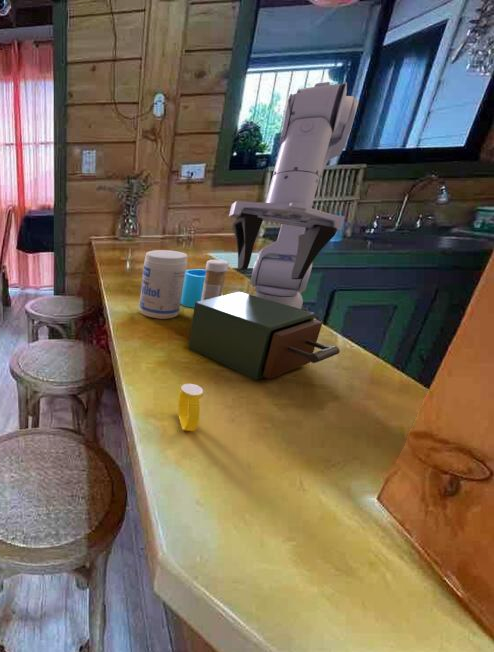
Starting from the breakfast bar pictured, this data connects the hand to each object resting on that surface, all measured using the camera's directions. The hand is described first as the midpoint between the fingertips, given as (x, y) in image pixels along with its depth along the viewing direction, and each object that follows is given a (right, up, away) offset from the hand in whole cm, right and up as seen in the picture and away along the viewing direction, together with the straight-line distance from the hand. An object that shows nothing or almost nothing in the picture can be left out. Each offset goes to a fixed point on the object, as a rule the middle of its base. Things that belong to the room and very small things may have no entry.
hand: (269, 274), depth 55 cm
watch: (-13, -22, -2) cm, 26 cm away
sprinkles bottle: (+7, -4, +35) cm, 36 cm away
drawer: (+7, -13, +12) cm, 19 cm away
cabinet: (+5, -12, +16) cm, 21 cm away
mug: (+8, +1, +46) cm, 47 cm away
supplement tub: (-4, -3, +38) cm, 38 cm away
